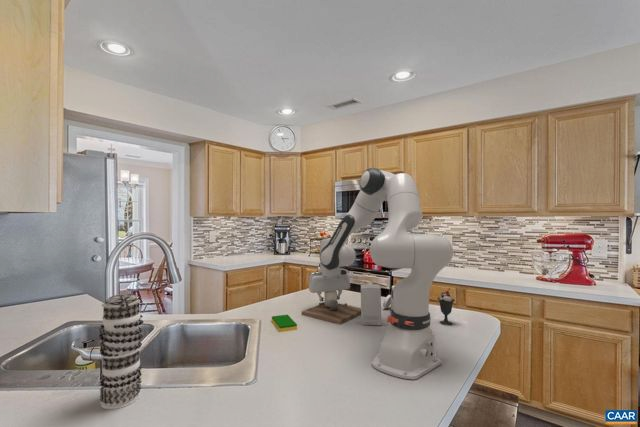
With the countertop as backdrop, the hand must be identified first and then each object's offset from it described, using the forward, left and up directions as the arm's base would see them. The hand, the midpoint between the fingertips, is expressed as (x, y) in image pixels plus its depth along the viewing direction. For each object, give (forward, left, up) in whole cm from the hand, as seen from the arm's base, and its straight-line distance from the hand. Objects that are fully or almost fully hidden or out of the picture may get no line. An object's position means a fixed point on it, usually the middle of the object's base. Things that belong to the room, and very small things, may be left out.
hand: (329, 300), depth 151 cm
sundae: (+14, -49, -5) cm, 52 cm away
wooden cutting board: (-4, -5, -4) cm, 8 cm away
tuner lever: (-1, -2, -2) cm, 3 cm away
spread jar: (+17, -25, -5) cm, 31 cm away
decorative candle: (-91, -2, -5) cm, 91 cm away
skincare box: (-5, -24, -5) cm, 25 cm away
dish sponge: (-29, +3, -5) cm, 29 cm away
